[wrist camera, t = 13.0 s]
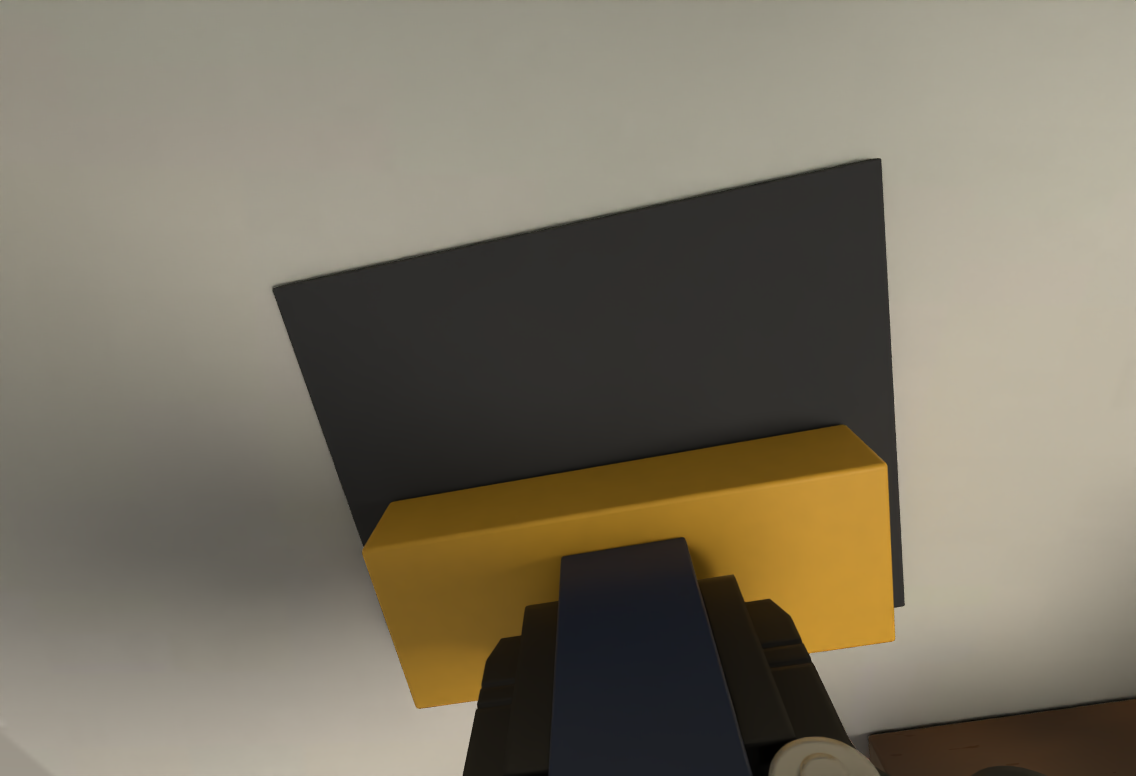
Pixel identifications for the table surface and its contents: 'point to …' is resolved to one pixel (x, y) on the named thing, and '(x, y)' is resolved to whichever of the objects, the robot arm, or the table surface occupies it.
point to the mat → (608, 343)
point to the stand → (1018, 744)
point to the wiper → (639, 586)
